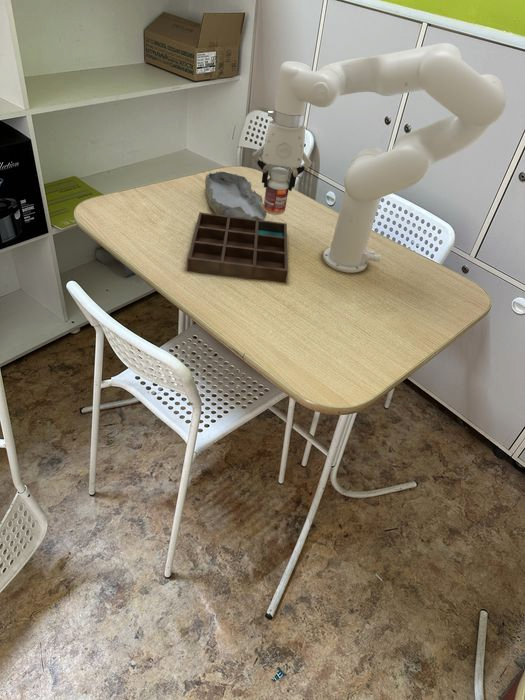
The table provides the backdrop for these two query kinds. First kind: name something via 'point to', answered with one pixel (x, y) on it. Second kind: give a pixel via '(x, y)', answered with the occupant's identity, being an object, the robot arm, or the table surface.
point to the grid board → (239, 248)
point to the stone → (233, 196)
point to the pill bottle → (276, 191)
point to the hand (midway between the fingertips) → (277, 186)
